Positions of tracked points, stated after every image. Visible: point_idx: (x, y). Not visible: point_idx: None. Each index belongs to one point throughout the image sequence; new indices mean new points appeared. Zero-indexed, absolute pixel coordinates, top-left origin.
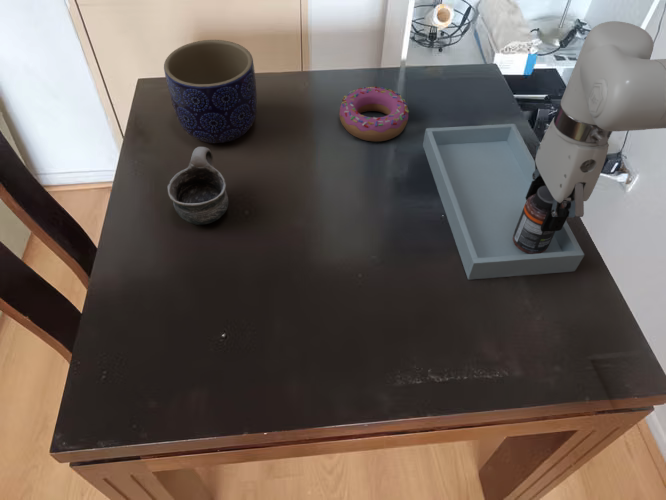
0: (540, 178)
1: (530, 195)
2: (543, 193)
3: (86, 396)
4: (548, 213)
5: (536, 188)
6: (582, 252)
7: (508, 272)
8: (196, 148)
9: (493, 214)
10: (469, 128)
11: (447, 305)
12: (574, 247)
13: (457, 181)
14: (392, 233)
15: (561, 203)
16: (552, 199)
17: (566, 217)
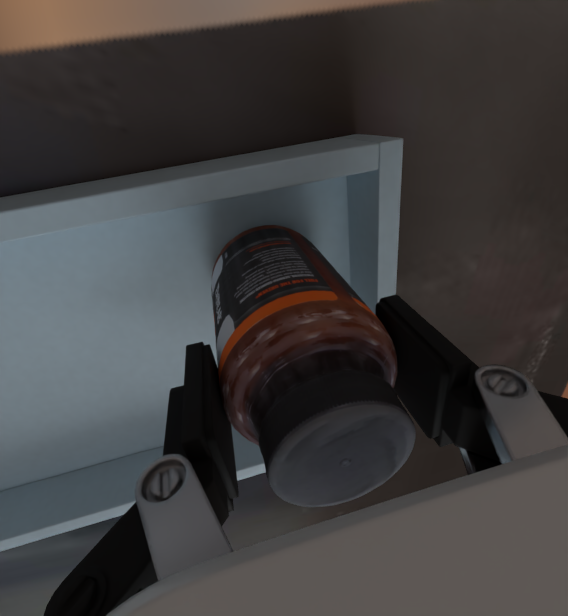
0: (221, 522)
1: (231, 429)
2: (338, 487)
3: None
4: (448, 442)
5: (232, 459)
6: (390, 143)
7: None
8: None
9: (156, 361)
10: None
11: (410, 413)
12: (362, 171)
13: (32, 448)
14: (248, 503)
15: (377, 381)
16: (390, 454)
17: (445, 342)
